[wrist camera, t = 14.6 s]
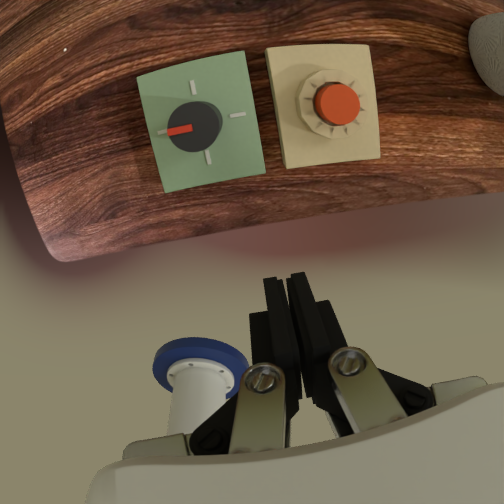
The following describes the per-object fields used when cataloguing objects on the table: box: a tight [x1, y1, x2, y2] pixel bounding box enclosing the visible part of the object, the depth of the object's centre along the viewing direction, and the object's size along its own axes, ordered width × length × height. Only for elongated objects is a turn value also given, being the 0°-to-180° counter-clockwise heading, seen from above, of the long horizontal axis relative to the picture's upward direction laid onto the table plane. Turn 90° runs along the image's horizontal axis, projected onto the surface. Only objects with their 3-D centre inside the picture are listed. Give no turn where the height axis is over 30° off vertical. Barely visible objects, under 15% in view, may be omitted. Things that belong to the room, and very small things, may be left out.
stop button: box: [315, 84, 360, 125], centre depth 22 cm, size 4×4×2 cm
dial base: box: [137, 51, 266, 193], centre depth 25 cm, size 12×10×3 cm
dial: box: [167, 101, 223, 152], centre depth 22 cm, size 4×4×5 cm
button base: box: [264, 44, 380, 169], centre depth 24 cm, size 12×10×4 cm
